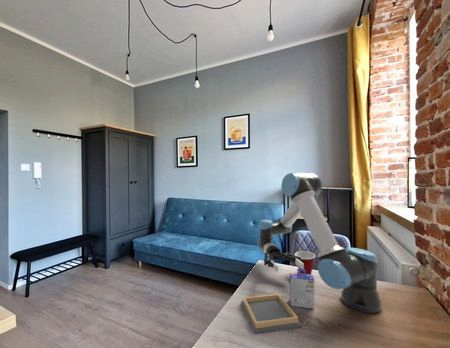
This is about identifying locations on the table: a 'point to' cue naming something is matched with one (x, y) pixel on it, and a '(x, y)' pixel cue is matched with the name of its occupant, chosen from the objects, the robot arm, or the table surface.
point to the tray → (269, 313)
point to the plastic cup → (306, 260)
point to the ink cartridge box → (302, 289)
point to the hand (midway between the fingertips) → (290, 267)
